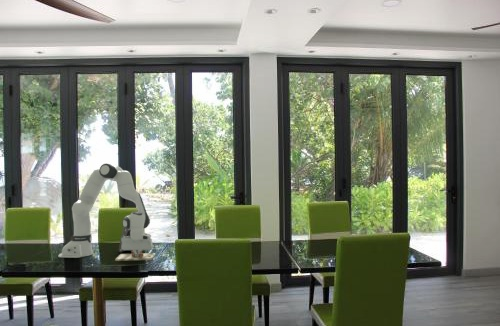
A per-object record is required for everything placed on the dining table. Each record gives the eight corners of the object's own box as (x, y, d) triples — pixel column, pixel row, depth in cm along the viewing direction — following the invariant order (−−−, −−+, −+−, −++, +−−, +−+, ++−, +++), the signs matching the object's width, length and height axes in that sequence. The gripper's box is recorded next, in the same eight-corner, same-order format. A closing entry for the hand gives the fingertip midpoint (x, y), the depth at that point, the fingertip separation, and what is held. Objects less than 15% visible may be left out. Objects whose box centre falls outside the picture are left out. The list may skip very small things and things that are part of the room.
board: (115, 260, 252) (115, 258, 252) (120, 255, 265) (120, 253, 265) (152, 259, 254) (152, 257, 254) (155, 254, 268) (155, 252, 268)
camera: (136, 258, 272) (143, 231, 272) (116, 251, 276) (122, 225, 275) (144, 254, 283) (150, 229, 282) (124, 248, 286) (130, 222, 286)
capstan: (130, 255, 261) (130, 249, 261) (139, 253, 265) (139, 248, 265) (137, 258, 251) (137, 253, 251) (147, 257, 255) (147, 251, 255)
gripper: (120, 237, 250) (119, 257, 250) (151, 236, 252) (151, 257, 252) (122, 235, 257) (122, 255, 257) (153, 234, 258) (153, 255, 258)
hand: (137, 256), depth 254 cm, fingers closed
